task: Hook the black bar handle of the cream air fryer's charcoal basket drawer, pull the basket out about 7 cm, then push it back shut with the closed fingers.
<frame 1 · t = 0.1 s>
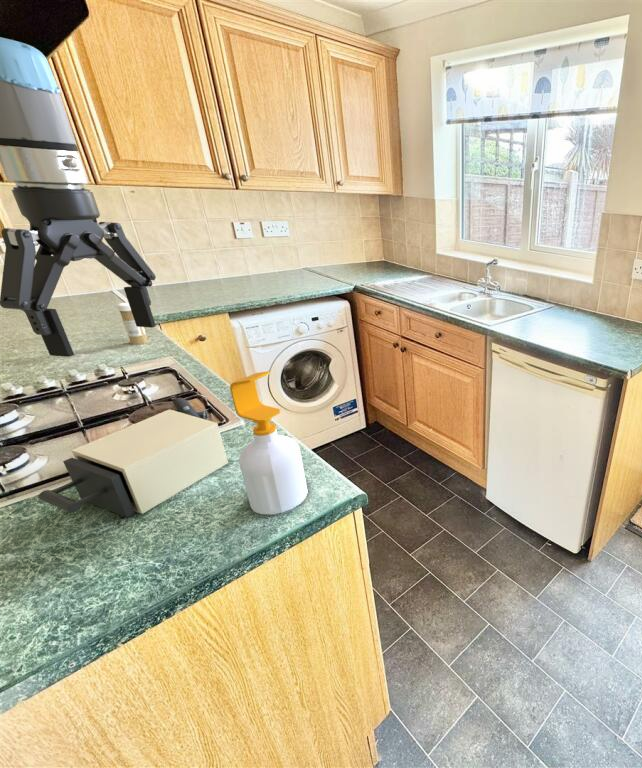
hand: (108, 339, 64), 28 cm above the counter, tool pointing down, fingers open, 13 cm apart
soap bottle: (280, 499, 75), on the counter
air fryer: (165, 479, 78), on the counter
sprinkles bottle: (140, 344, 136), on the counter
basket: (127, 473, 72), point 5 cm above the counter, slide at 0.5 cm
grey club-shaped piece: (190, 425, 95), on the counter
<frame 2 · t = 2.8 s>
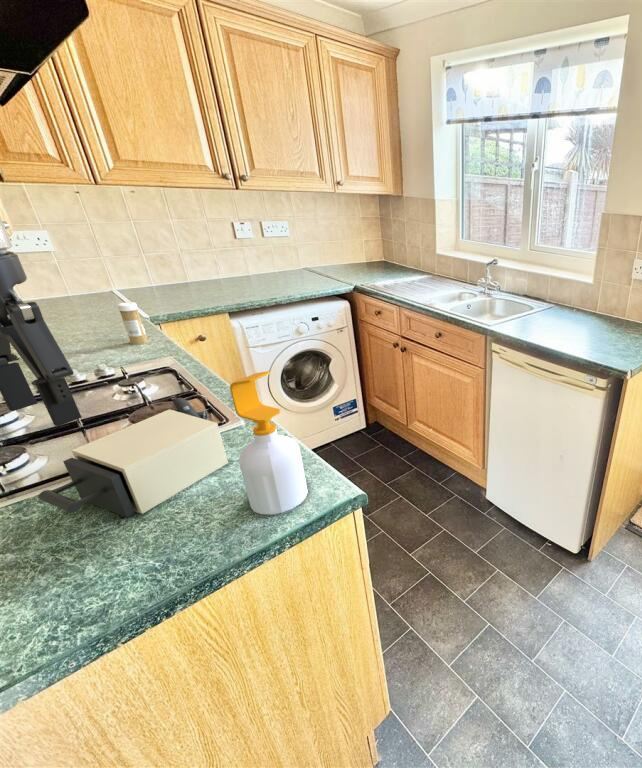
hand: (45, 413, 60), 20 cm above the counter, tool pointing down, fingers open, 9 cm apart
nothing on the counter moved.
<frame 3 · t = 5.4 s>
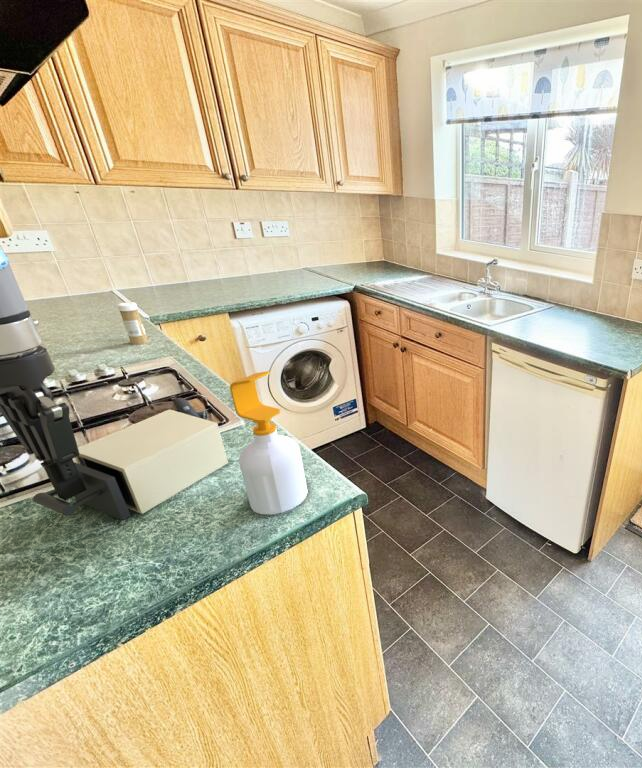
hand: (73, 493, 65), 6 cm above the counter, tool pointing down, fingers closed
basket: (123, 475, 71), point 5 cm above the counter, slide at 1.1 cm
everything else where it was.
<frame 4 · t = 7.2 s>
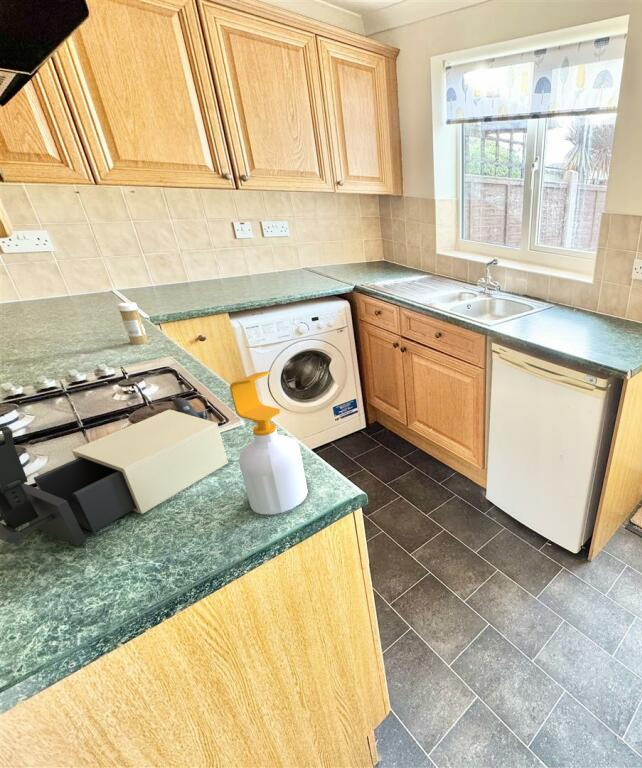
hand: (23, 521, 60), 5 cm above the counter, tool pointing down, fingers closed
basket: (81, 496, 66), point 5 cm above the counter, slide at 7.0 cm, touching gripper
everything else where it was.
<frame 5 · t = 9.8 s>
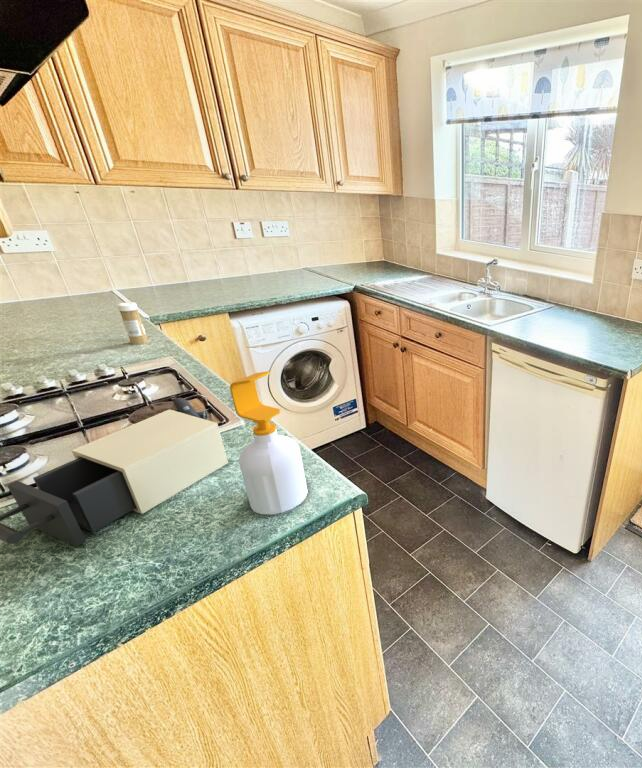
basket: (81, 496, 66), point 5 cm above the counter, slide at 7.1 cm
everything else where it was.
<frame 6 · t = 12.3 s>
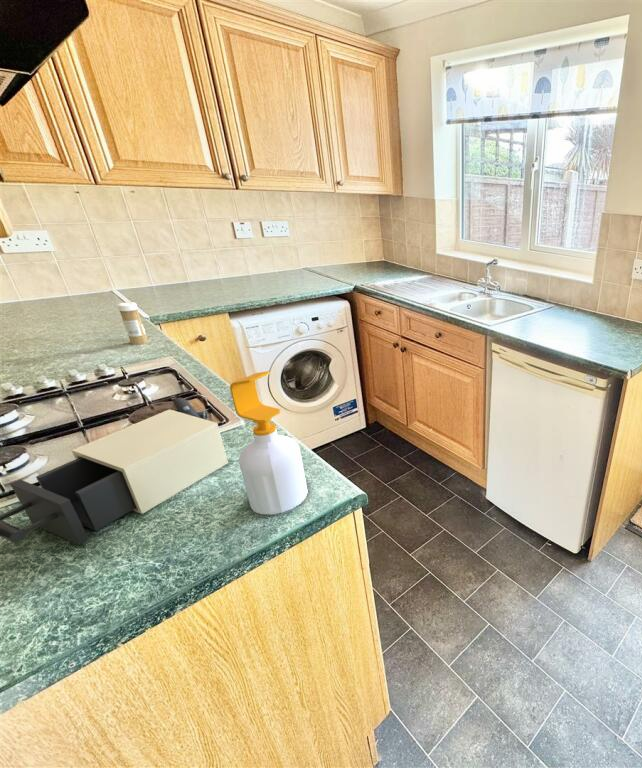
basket: (83, 495, 66), point 5 cm above the counter, slide at 6.7 cm, touching gripper
everything else where it was.
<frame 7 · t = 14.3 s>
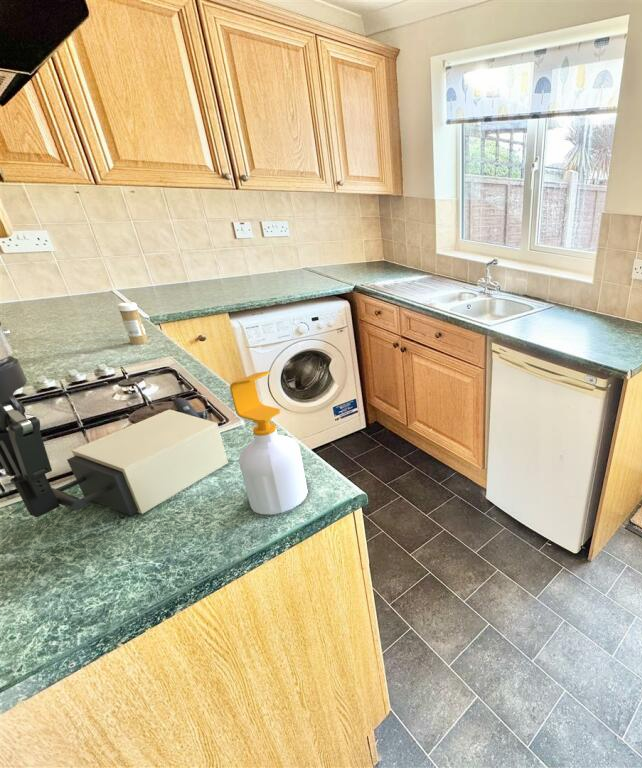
hand: (45, 510, 62), 5 cm above the counter, tool pointing down, fingers closed
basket: (131, 471, 72), point 5 cm above the counter, slide at 0.0 cm, touching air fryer, gripper
everything else where it was.
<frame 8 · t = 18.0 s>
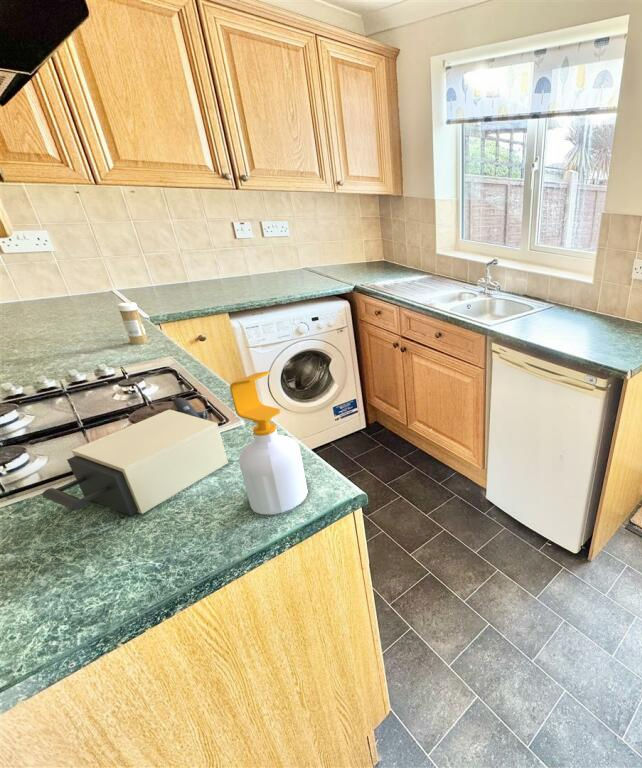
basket: (131, 471, 72), point 5 cm above the counter, slide at 0.0 cm
everything else where it was.
at the end: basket pulled out 7.1 cm at the most during the clip, back to where it started at the end; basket slide at 0.0 cm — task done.
